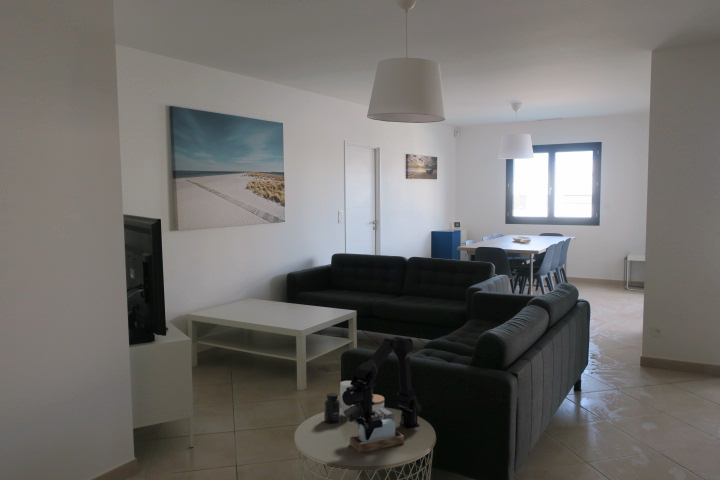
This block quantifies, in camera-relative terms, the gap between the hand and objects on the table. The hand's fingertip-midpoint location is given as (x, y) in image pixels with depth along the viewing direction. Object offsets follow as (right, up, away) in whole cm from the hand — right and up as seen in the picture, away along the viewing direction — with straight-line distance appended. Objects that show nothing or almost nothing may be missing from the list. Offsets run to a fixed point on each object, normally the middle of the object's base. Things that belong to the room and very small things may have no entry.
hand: (364, 437), depth 214 cm
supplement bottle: (-14, -2, +25) cm, 29 cm away
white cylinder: (-8, -2, +32) cm, 33 cm away
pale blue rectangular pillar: (+5, -1, +2) cm, 6 cm away
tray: (+5, -3, +3) cm, 7 cm away
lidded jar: (+4, -2, +33) cm, 33 cm away
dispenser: (+8, -3, +16) cm, 19 cm away
